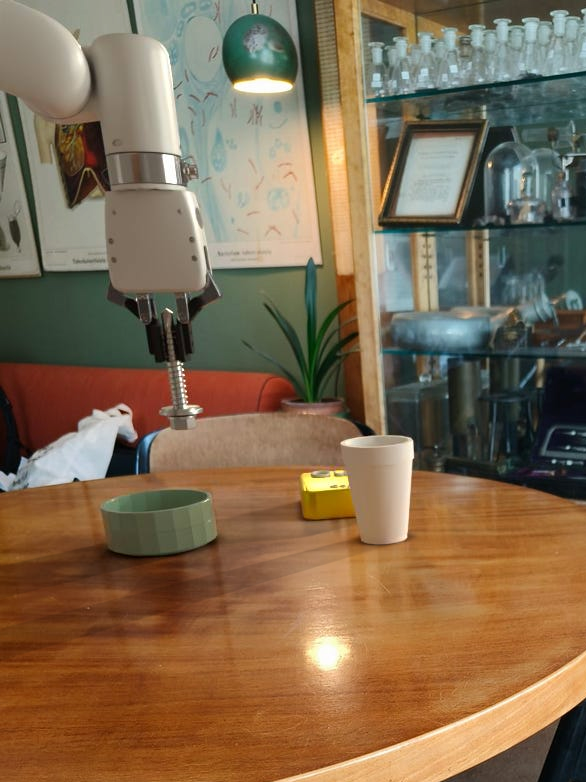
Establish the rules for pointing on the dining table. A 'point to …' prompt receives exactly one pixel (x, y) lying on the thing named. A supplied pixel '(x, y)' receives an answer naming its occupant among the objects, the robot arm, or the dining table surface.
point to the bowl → (159, 521)
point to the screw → (176, 381)
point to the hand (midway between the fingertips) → (173, 360)
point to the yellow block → (326, 495)
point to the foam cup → (380, 485)
